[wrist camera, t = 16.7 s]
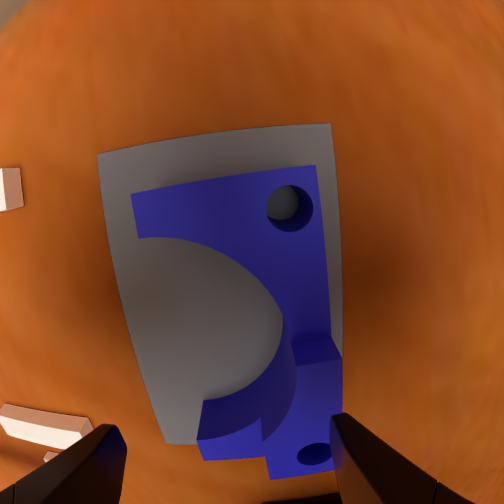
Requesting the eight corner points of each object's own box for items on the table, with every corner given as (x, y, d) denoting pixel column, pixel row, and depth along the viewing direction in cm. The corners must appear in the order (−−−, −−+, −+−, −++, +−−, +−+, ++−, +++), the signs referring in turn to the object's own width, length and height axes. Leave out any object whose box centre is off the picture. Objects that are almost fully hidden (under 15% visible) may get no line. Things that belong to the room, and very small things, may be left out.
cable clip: (340, 468, 11) (201, 484, 11) (321, 406, 15) (209, 420, 16) (327, 162, 8) (112, 197, 8) (300, 167, 13) (155, 190, 13)
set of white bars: (19, 167, 13) (1, 168, 11) (131, 493, 18) (126, 507, 17) (-57, 198, 13) (-72, 201, 11) (51, 477, 18) (45, 488, 17)
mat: (328, 124, 13) (330, 122, 12) (336, 426, 16) (338, 431, 16) (100, 154, 13) (96, 154, 12) (167, 439, 16) (166, 444, 16)
